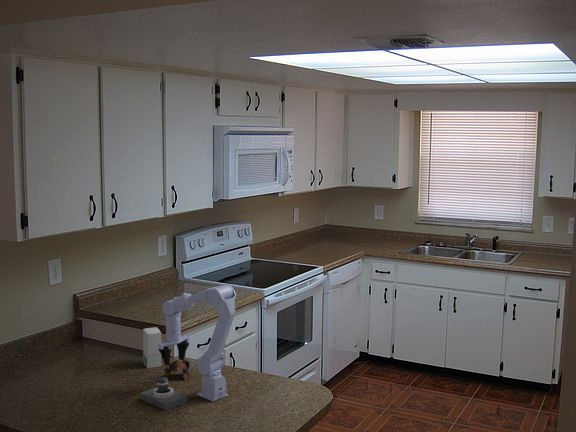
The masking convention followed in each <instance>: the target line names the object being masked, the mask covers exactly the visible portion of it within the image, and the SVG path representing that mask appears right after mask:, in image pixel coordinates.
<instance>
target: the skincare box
mask: <svg viewBox="0 0 576 432" xmlns="http://www.w3.org/2000/svg"><path fill="white" fill-rule="evenodd" d="M142 332H143V333H142V342H143V343H142V345H143V346H142V347H143V349H142V350H143V352H142V355H143V357H142V358H143V359H142V360H143V361H142V362H143V364H144V366H145V367H146V368H147V369H151V368H158V367H162V355H161V353H160V351H159V350H158V344H160V343H162V332H161V331H160V329H159V328H158V327H157V326H155V327H147V328H143V329H142Z"/></svg>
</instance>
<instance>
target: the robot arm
mask: <svg viewBox="0 0 576 432" xmlns="http://www.w3.org/2000/svg"><path fill="white" fill-rule="evenodd" d="M172 298H173V299H170V300H165V302H163V304H162V312H163V314H164V315H165V330H166V331H165V335H166V337H165V340H163V341H161V343H160V344H158V350H159V351H160V353H161V358H162V360H163V362H164V365H165V366H166V367H169V366H168V365H169V364H171V363H170V361H171V360H170V359H171V353H172V349H171V348H169V347H171V346H175V345H176V347H177V351H178V354H177V355H178V360H179V361H181V362H182V361H184V360H185V356H186V352H187V350H188V348H189V346H190V342H189V341H190V336H189V335H186V334H185V335H182V329H181V328H182V327H181V325H182V324H181V322H182V321H181V317H182V312H183V311H186V310H189V309H191V308H193V307H195V303H197V302H201V301H203V300H205V301H206V302H209V304H210V305H211V307H213V309H214V310H215V311H216V313H218V314H219V316H218V318H217V321H216V324H215V327H214V329H213V333H212V336H211V339H210V342H209V345H208V348H207V350H206V351H204V353H203V354H202V356H201V359H200V360H198V362H197V365H196V366H197V369H198V372H199V374H200V375H201V392H198V393H197V396H198V397H201V398H204V399H207V400H208V401H211V402H215V401H218V400H220V399H223V398H225V397H226V398H227V397H228V396H229V394H228V393H227V379H226V378H225V377H224V376H223V375H222V373H221V372H222V368H223V367H224V365H225V356H226V354H225V352H223V350H224V347H225V344H226V343H227V342H226V341H227V339H228V337H229V336H228V335H229V333H230V330H231V327H232V324H233V322H234V317H235V315H236V302H235V300H236V298H237V293H236V291H235V289H234V287H233V286H232V285H230V284H229V283H225V284H223V285H218V286H212V287H209V288H206V289H203V290H201V291H198V292H196V293H194V294H191V293H186V292H184V293H181V295H180V296H174V297H172Z"/></svg>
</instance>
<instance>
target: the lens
mask: <svg viewBox="0 0 576 432" xmlns="http://www.w3.org/2000/svg"><path fill="white" fill-rule="evenodd" d="M156 381H157V382H156V384H157V388H158V393H162V394H163V393H168V387H169V379H168V377H166V376H161V377H158V378H157V380H156Z"/></svg>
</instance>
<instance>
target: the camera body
mask: <svg viewBox="0 0 576 432" xmlns="http://www.w3.org/2000/svg"><path fill="white" fill-rule="evenodd" d="M139 397H140V400H142V401H144V402H146V403H148V404H150V405H152V406H155V407H157V408H159V409H161V410H163V411H168V410H171V409H174V408H177V407H179V405H180V406H182V405H184V404H188V396H186V395H185V394H182V393H181V392H177V391H176V390H174V388H173V387H171V386H170V387H169V386H168V393H163V394H162V393H158V388H157V387H153V388H151V389H147V390H144V391H141V392H139Z"/></svg>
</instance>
